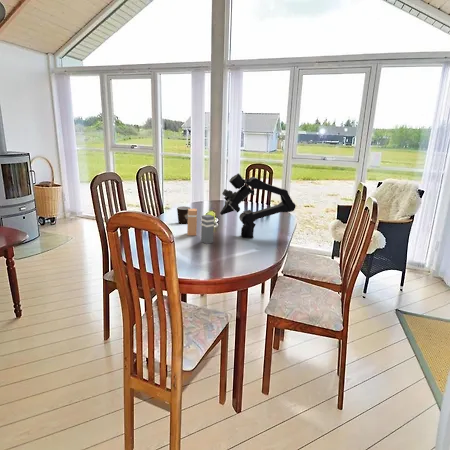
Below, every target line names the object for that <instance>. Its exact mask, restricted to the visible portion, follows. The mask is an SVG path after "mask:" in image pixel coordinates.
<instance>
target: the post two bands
mask: <svg viewBox="0 0 450 450" xmlns="http://www.w3.org/2000/svg"><path fill="white" fill-rule="evenodd" d="M200 220H201V223H200V225H201V232H200V242H201V243H203V244H206V245H207V244H212V243H214V229H215V216H214V215H211V214H205V215H203V214H202V215H201V218H200Z"/></svg>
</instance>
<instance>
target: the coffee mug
mask: <svg viewBox="0 0 450 450" xmlns="http://www.w3.org/2000/svg"><path fill="white" fill-rule="evenodd" d="M188 209H192V208H191V207H190V206H186V205H185V206H177V208H176V212H177V221H178V225H188Z"/></svg>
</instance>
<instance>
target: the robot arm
mask: <svg viewBox="0 0 450 450" xmlns="http://www.w3.org/2000/svg"><path fill="white" fill-rule="evenodd" d="M228 181H229V183H230V184H231V185H232V187H234V189H236V190H237V189H238V190H237V191H232V190H231V189H229V190H228V189H225V188H224V190H223V192H222V194H221V195H223V196H224V197H223V199H224V206H223V207H222V209H221V211H220V212H219V214H220V215H221V216H223V215H226V214H228V213H232V212H236V213H239V212H240V211H241V208H240V206H239V205H240V204H241V203H242V202H243V203H244V201H245V199H246V198H248V196H249V195H250V194H251V195H252V196H255V190H262V191H266V192H269V193H272V194H275V195H279V197H280V199H281V202H279V203H278V204H276V205H273V206H270V207H267V208H263V209H260V210H257V211H252V210H251V209H247V210H245V211H244V210H243V211H242V212H241V213H240V214H239V216H238V218H239V221H240V222H241V223H242V227H241V231H240V236H241V237H242V238H245V239H247V238H248V239H254V232H255V229H254V228H255V227H256V223H254V222H256V221H257V220H259V219H262V218H265V217H269V216H273V215H276V214H279V213H291V212H294V211H295V209H296V204H295V202H293V199H292V197H291V196H290V194H289V192H288V190H287V189H285V188H282V187H281V188H280V187H278V186H275V185H272V184H269V183H266V182H264V181H262V180H261V179H259V178H257V177H255V176H251V177H249V178H247V179H244V178H243V177H242V176H241V174H240V173H236V174H235V175H233V176H231V178H230V179H229V180H228ZM246 185H247V186H246Z"/></svg>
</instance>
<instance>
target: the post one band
mask: <svg viewBox="0 0 450 450" xmlns="http://www.w3.org/2000/svg"><path fill="white" fill-rule="evenodd" d="M197 218H198V210H197V208H191V209H188V224H187V228H186V229H187V231H186V232H187V236H197V223H198V221H197V220H198V219H197Z"/></svg>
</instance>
